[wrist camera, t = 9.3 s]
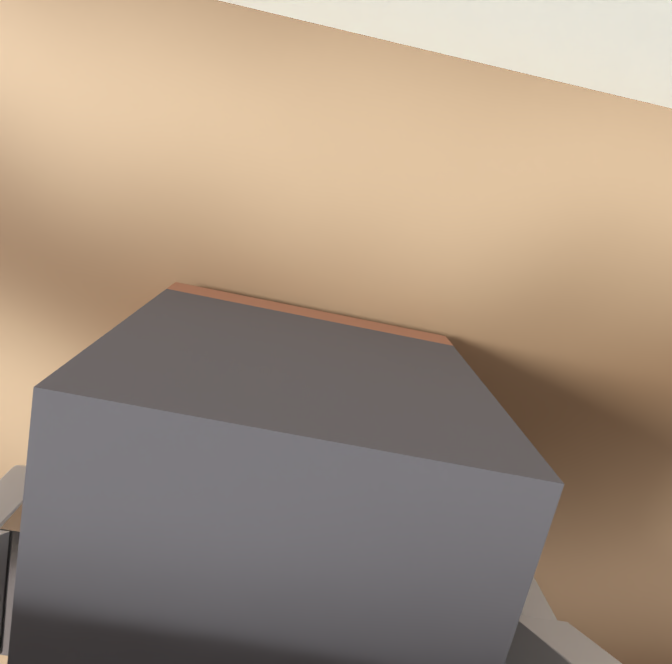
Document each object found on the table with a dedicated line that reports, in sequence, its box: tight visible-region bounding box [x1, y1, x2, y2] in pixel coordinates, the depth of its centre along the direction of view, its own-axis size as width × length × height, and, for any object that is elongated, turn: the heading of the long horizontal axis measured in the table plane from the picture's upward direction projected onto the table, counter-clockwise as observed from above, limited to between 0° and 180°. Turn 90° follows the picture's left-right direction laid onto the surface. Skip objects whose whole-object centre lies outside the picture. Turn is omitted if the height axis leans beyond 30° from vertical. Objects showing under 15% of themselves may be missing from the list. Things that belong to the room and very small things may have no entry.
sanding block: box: [7, 282, 564, 664], centre depth 8 cm, size 7×4×5 cm, turn 168°
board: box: [0, 0, 672, 664], centre depth 12 cm, size 22×18×1 cm
